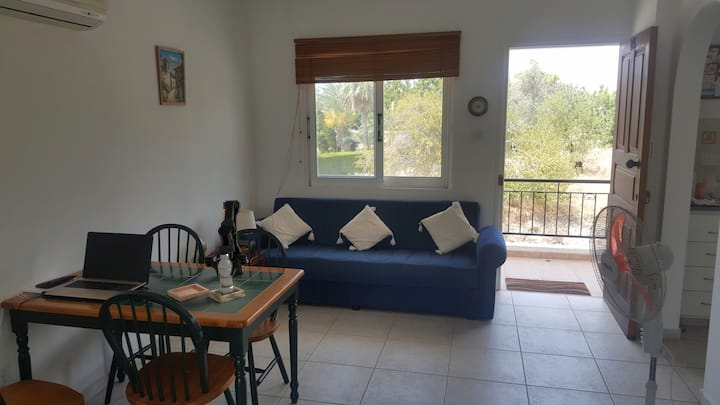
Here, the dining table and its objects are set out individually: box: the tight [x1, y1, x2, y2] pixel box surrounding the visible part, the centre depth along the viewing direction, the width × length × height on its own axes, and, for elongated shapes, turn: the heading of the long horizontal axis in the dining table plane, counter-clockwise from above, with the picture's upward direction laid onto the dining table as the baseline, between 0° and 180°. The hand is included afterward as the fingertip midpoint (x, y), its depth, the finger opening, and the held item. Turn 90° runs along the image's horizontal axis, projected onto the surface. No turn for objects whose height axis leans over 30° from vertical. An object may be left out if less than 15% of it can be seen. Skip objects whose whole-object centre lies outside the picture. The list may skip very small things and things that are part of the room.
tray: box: [167, 283, 211, 303], centre depth 227 cm, size 14×14×2 cm
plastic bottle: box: [218, 253, 235, 296], centre depth 221 cm, size 6×7×20 cm
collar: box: [208, 285, 246, 304], centre depth 223 cm, size 12×12×2 cm
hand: (225, 277), depth 220 cm, fingers closed on plastic bottle, 6 cm apart
